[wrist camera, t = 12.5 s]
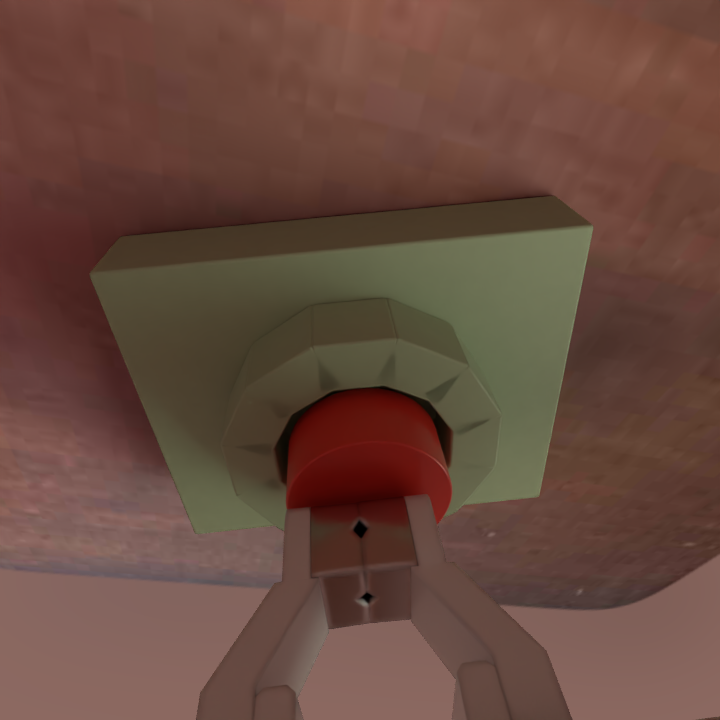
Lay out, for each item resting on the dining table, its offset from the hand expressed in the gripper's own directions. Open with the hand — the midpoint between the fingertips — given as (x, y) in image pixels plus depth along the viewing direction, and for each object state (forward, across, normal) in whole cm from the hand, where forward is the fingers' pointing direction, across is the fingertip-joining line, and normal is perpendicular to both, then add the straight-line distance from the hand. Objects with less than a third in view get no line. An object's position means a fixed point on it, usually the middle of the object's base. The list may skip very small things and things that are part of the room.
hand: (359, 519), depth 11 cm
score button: (+2, 0, 0) cm, 2 cm away
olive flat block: (+6, 0, 0) cm, 6 cm away
